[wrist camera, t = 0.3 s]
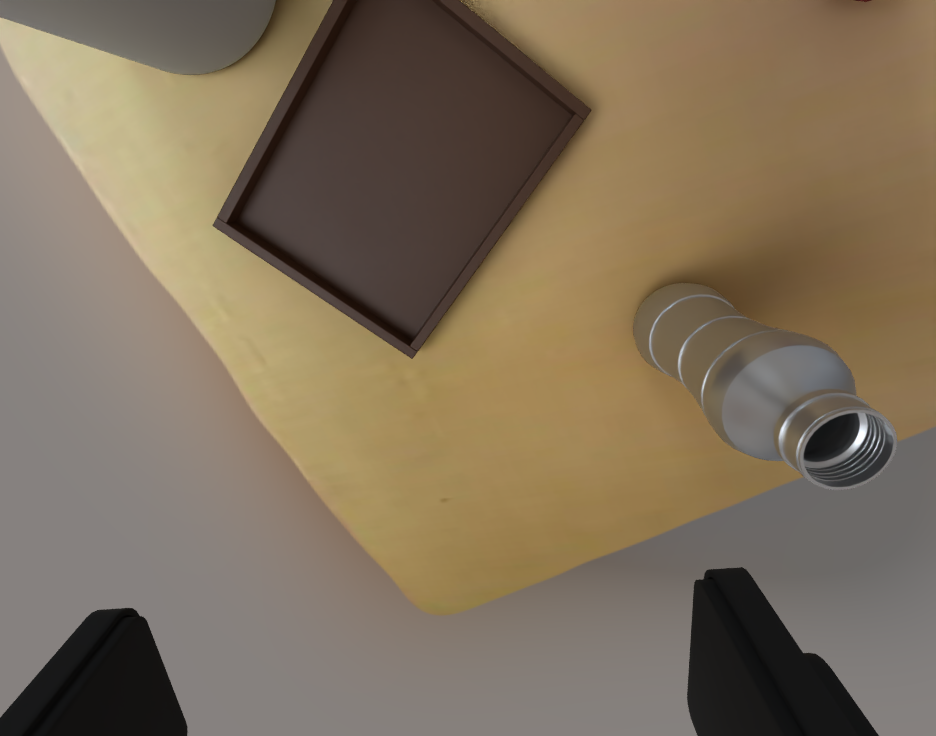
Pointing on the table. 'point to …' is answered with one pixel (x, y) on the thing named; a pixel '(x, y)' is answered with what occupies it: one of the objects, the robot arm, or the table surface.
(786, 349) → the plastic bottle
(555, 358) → the table surface
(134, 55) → the cylinder vase
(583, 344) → the table surface
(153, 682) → the robot arm
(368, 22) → the tray
